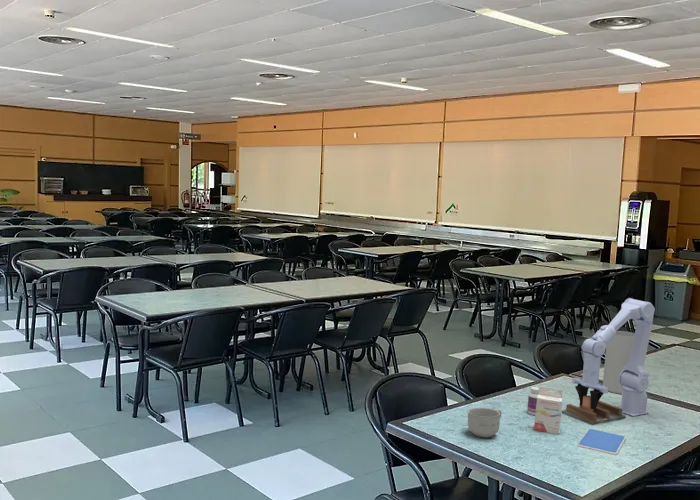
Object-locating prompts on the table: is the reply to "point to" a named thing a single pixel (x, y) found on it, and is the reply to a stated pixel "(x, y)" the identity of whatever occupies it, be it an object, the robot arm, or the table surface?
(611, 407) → the comb rack
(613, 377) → the cylinder vase
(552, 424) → the ink cartridge box
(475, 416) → the teacup
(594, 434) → the tablet computer
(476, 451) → the table surface
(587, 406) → the terracotta plug
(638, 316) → the robot arm
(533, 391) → the pill bottle
